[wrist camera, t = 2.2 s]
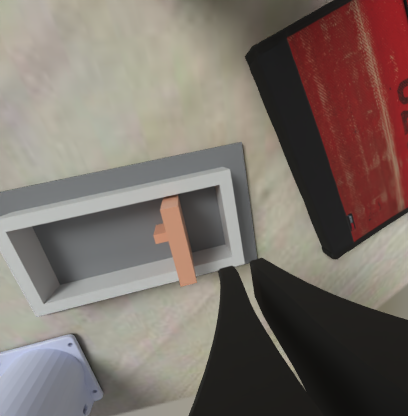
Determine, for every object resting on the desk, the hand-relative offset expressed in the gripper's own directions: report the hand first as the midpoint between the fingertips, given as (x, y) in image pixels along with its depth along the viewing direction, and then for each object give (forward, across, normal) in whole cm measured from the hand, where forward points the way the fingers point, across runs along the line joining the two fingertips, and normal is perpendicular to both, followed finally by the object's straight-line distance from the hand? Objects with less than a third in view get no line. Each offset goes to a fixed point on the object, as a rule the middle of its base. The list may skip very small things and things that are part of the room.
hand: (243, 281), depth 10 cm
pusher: (+10, +4, 0) cm, 11 cm away
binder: (+11, -16, -5) cm, 20 cm away
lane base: (+10, +7, 0) cm, 13 cm away
